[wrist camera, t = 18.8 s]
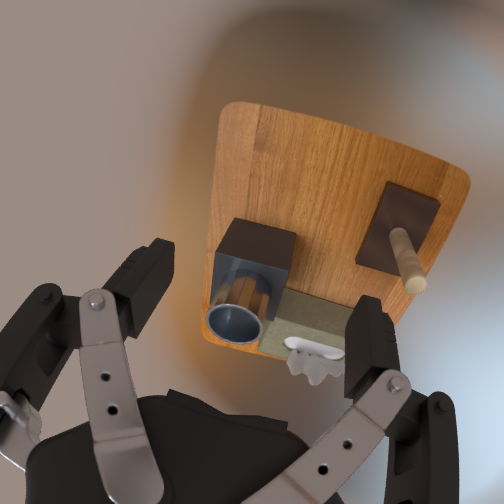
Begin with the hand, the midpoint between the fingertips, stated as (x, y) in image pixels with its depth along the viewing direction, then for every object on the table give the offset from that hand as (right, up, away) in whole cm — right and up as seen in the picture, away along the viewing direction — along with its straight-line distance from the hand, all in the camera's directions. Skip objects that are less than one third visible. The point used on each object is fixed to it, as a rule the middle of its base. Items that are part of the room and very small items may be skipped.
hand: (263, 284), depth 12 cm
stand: (+1, +2, +38) cm, 38 cm away
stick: (+22, +4, +30) cm, 37 cm away
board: (+22, +5, +31) cm, 38 cm away
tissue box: (+12, -11, +44) cm, 47 cm away
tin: (-1, -4, +30) cm, 30 cm away
